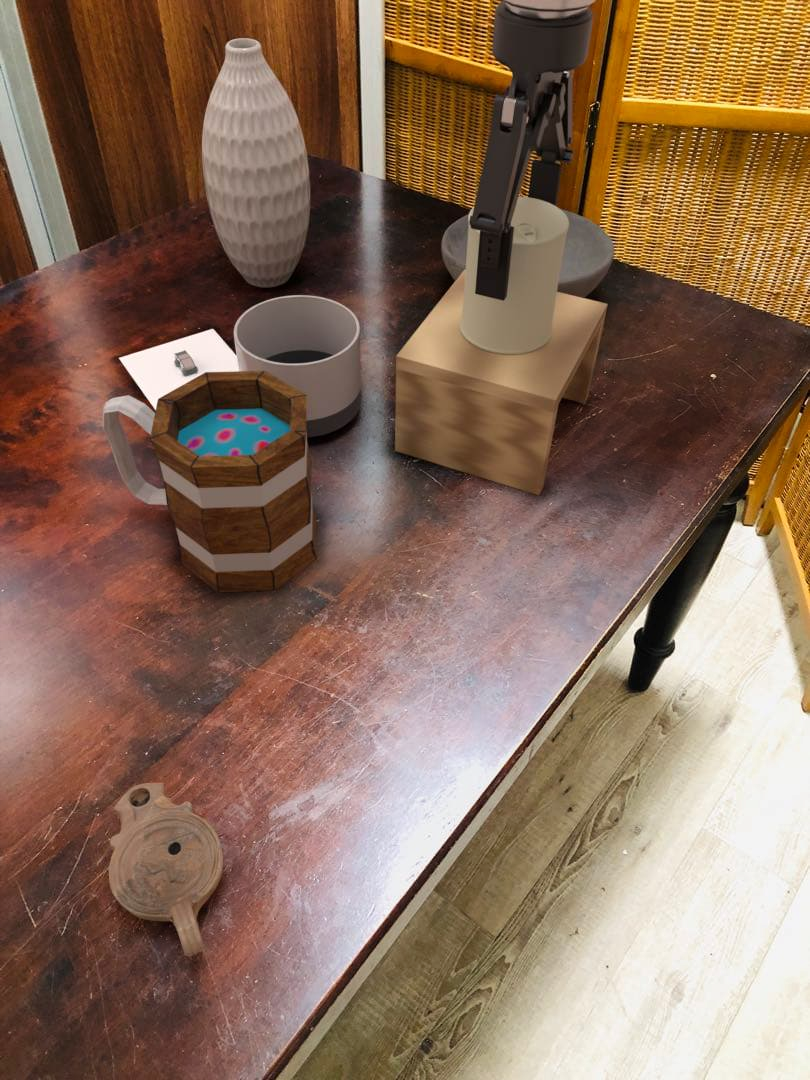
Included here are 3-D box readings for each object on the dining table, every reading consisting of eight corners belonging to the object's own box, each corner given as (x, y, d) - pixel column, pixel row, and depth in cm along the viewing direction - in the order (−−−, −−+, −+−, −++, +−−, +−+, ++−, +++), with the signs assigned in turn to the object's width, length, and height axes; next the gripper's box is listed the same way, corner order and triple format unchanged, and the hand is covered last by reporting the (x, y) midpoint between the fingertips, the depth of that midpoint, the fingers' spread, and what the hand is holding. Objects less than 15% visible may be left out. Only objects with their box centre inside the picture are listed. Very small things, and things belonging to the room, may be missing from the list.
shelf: (588, 396, 100) (607, 303, 91) (539, 495, 89) (556, 400, 80) (457, 361, 104) (464, 269, 96) (394, 451, 93) (396, 355, 84)
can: (473, 359, 84) (483, 242, 75) (449, 308, 90) (457, 194, 81) (564, 350, 85) (585, 233, 77) (535, 299, 92) (551, 187, 83)
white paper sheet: (157, 412, 97) (154, 401, 96) (118, 358, 103) (115, 347, 102) (256, 378, 101) (254, 368, 100) (213, 328, 108) (211, 318, 107)
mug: (343, 510, 87) (337, 386, 76) (287, 611, 78) (271, 487, 67) (165, 465, 91) (135, 341, 80) (93, 556, 82) (48, 431, 71)
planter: (382, 424, 96) (382, 342, 88) (275, 462, 91) (265, 379, 84) (328, 363, 103) (324, 283, 96) (226, 396, 99) (214, 314, 91)
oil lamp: (99, 820, 64) (82, 787, 60) (199, 781, 66) (188, 747, 63) (142, 997, 56) (125, 971, 52) (254, 946, 58) (246, 917, 55)
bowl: (474, 354, 105) (480, 295, 100) (416, 269, 119) (418, 212, 113) (631, 325, 110) (645, 267, 105) (558, 246, 124) (567, 191, 118)
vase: (246, 245, 122) (218, 19, 102) (330, 262, 120) (319, 33, 99) (201, 290, 114) (161, 53, 94) (291, 309, 111) (270, 70, 91)
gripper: (547, -41, 76) (521, 198, 91) (436, 44, 60) (426, 316, 75) (633, -30, 74) (591, 213, 89) (541, 61, 58) (509, 337, 73)
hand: (515, 261), depth 82 cm, fingers open, 13 cm apart
